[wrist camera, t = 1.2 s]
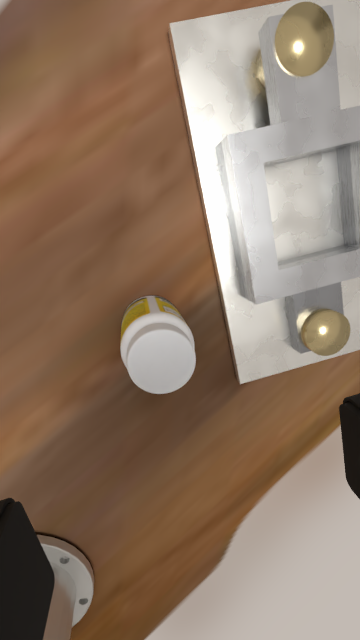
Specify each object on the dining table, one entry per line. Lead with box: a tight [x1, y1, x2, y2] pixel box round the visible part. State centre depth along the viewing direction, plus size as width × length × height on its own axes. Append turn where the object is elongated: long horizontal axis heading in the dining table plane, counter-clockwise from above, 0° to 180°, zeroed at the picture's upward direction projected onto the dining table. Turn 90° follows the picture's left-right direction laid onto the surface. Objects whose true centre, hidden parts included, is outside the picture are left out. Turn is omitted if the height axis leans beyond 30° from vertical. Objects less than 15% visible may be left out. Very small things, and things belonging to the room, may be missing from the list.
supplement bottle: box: [120, 296, 196, 394], centre depth 22 cm, size 5×5×8 cm
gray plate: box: [168, 0, 360, 384], centre depth 24 cm, size 26×14×4 cm, turn 13°
